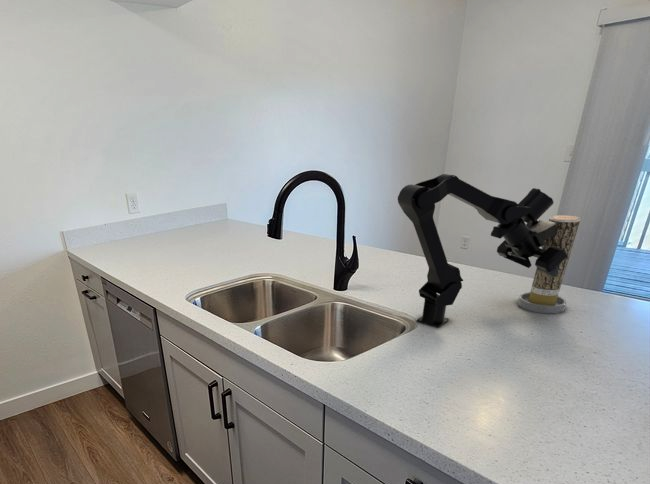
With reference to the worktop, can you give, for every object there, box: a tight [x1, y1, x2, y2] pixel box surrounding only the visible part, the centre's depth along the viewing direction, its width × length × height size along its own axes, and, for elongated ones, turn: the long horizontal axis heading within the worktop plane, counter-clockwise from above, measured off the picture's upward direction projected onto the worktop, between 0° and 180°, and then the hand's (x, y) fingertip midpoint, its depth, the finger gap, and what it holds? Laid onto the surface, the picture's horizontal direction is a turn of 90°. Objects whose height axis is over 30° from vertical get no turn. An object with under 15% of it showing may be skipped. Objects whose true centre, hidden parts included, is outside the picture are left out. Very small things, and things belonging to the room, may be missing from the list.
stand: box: [517, 291, 567, 314], centre depth 127 cm, size 12×12×2 cm
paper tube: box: [528, 214, 581, 306], centre depth 121 cm, size 7×7×25 cm
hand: (542, 271), depth 122 cm, fingers open, 9 cm apart
